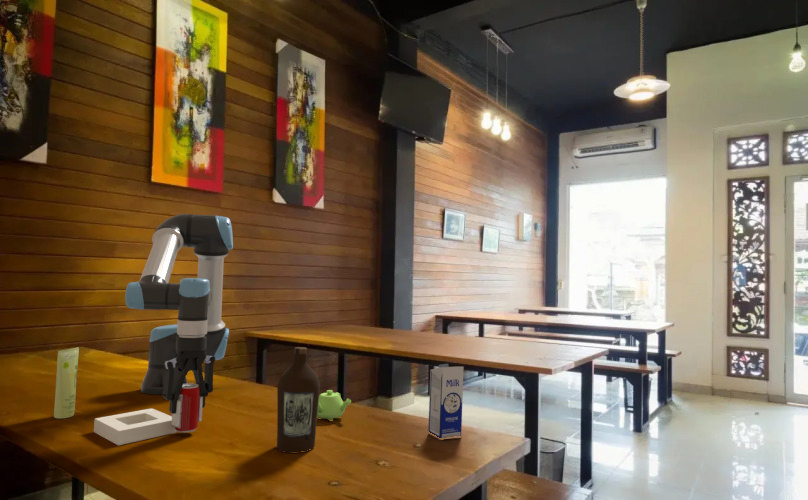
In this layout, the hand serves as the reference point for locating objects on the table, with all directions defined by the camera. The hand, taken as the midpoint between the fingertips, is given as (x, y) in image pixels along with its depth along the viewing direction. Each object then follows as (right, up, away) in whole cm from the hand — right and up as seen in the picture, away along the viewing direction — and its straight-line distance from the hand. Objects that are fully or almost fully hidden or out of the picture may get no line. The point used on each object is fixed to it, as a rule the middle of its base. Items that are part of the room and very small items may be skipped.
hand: (186, 422), depth 135 cm
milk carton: (+70, -6, +7) cm, 70 cm away
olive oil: (+31, -4, -7) cm, 32 cm away
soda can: (0, -2, 0) cm, 2 cm away
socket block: (-14, -3, 0) cm, 14 cm away
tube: (-40, -2, +11) cm, 42 cm away
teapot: (+35, -6, +19) cm, 40 cm away
